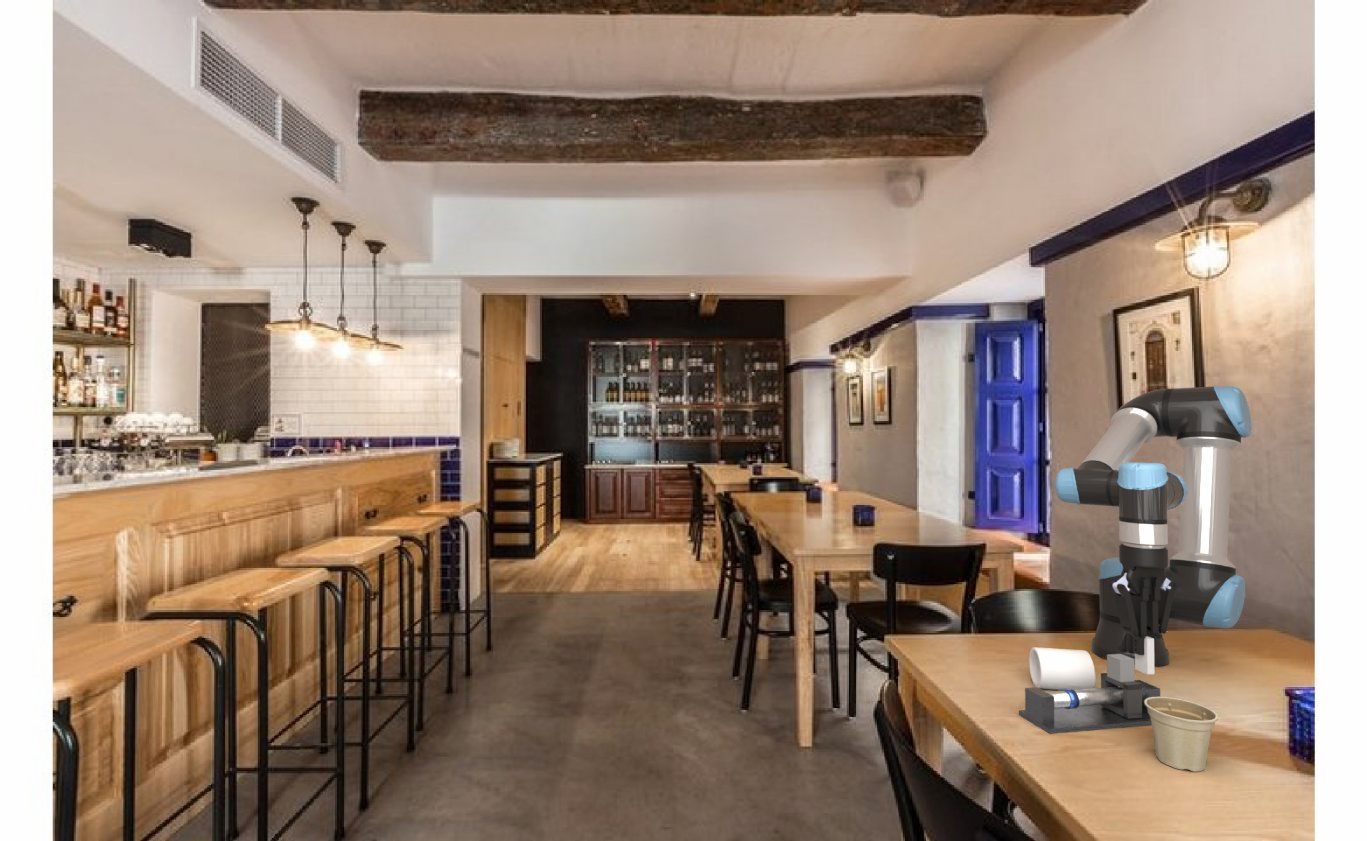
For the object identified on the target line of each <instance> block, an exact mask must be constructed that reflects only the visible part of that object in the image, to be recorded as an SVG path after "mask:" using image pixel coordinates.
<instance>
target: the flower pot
mask: <svg viewBox="0 0 1367 841" xmlns="http://www.w3.org/2000/svg"><path fill="white" fill-rule="evenodd" d="M1144 704H1145V706H1146V707H1147V710H1148V714H1149V715H1150V718H1151V724H1152V725H1151V729H1152V734H1153V742H1154V750H1155V755H1156V757H1157V758H1158V760H1159V761H1160V762H1161V763H1163V764H1165V765H1167V766H1169V767H1172V768H1174V769H1177V770H1181V771H1183V770H1188V771H1189V770H1190V772H1193V773H1194V772H1195V773H1196V772H1202V771H1204V770H1205V769H1206V766H1207V765H1206V764H1207V759H1208V752H1209V746H1210V741H1211V734H1212V729H1214V728H1215V722H1217V721H1218V720H1219V715H1218V714H1217V712H1215V711H1214V710H1212V709H1211V708H1209V707H1206V705H1205V706H1204V705H1202V704H1199V703H1197V702H1193V701H1189V700H1187V699H1185V700H1184V699H1180V698H1175V697H1169V696H1160V697H1150V698H1147V699H1145V701H1144Z"/></svg>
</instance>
